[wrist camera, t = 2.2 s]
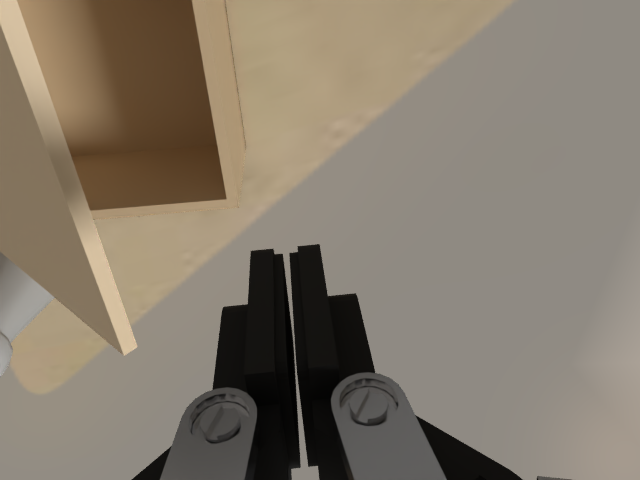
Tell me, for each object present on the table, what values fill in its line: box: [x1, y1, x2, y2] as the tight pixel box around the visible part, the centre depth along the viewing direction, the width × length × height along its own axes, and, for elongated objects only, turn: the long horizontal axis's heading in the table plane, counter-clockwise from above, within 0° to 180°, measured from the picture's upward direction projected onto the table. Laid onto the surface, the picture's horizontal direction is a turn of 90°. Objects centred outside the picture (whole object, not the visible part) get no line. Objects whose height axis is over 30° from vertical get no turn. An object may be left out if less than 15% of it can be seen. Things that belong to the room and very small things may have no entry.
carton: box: [17, 0, 246, 220], centre depth 29 cm, size 14×13×9 cm
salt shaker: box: [0, 252, 55, 377], centre depth 35 cm, size 6×6×13 cm
